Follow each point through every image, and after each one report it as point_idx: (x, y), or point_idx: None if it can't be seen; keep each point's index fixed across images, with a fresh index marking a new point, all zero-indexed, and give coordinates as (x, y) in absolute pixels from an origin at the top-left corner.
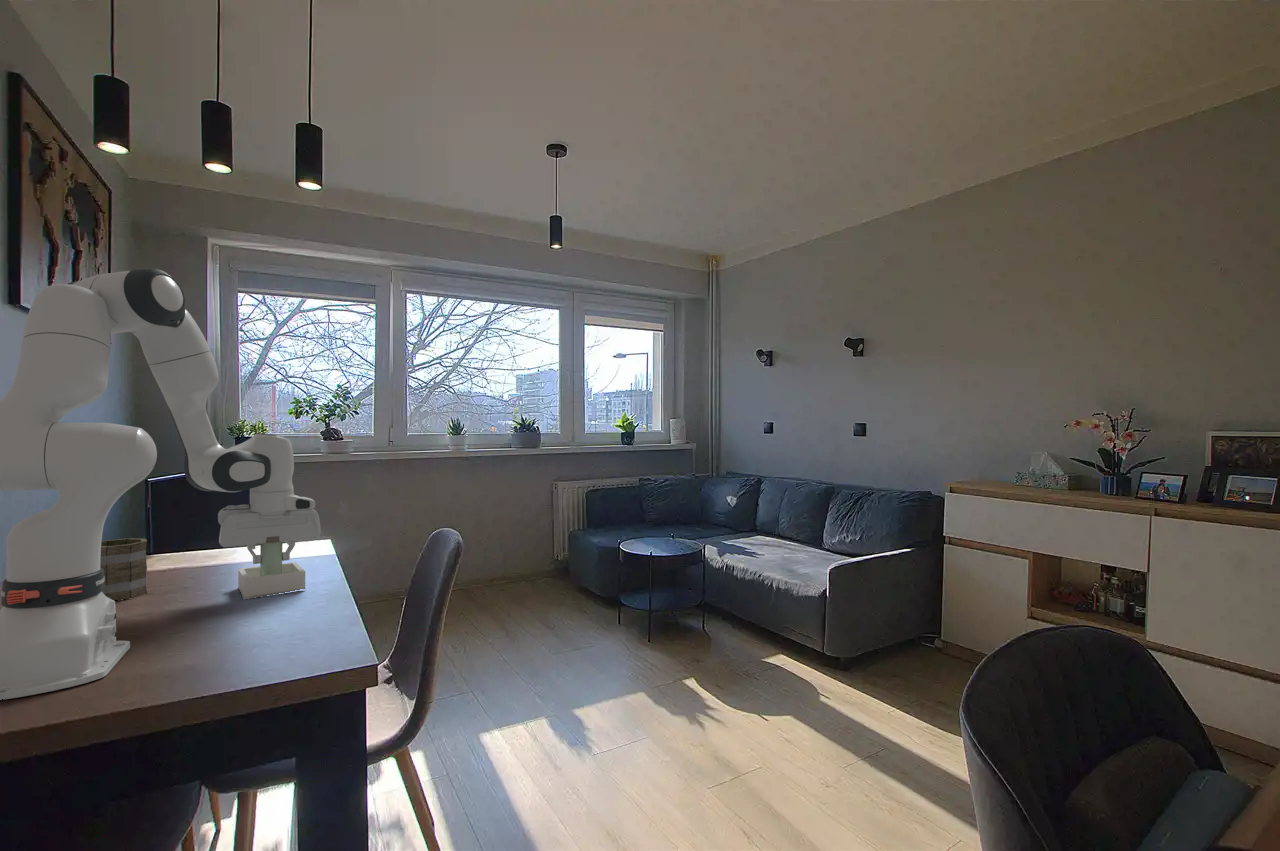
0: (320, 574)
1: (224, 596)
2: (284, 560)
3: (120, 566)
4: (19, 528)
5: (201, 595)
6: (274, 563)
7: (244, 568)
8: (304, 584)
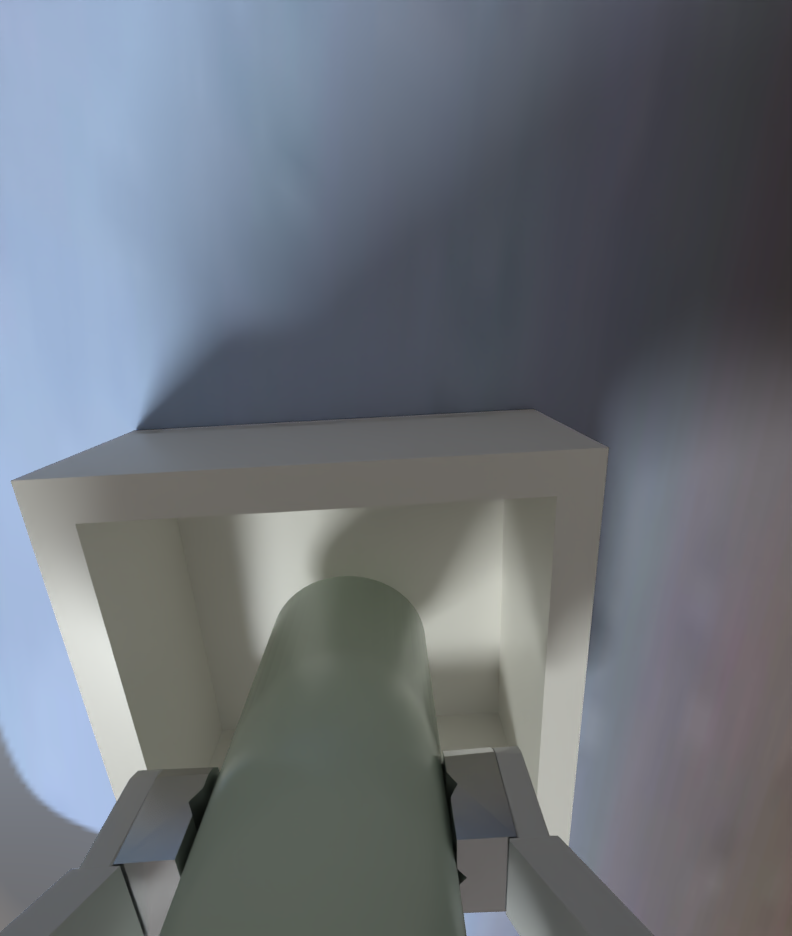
0: (68, 807)
1: (614, 576)
2: (196, 770)
3: None
4: None
5: (708, 664)
6: (305, 694)
7: None
8: (109, 442)
